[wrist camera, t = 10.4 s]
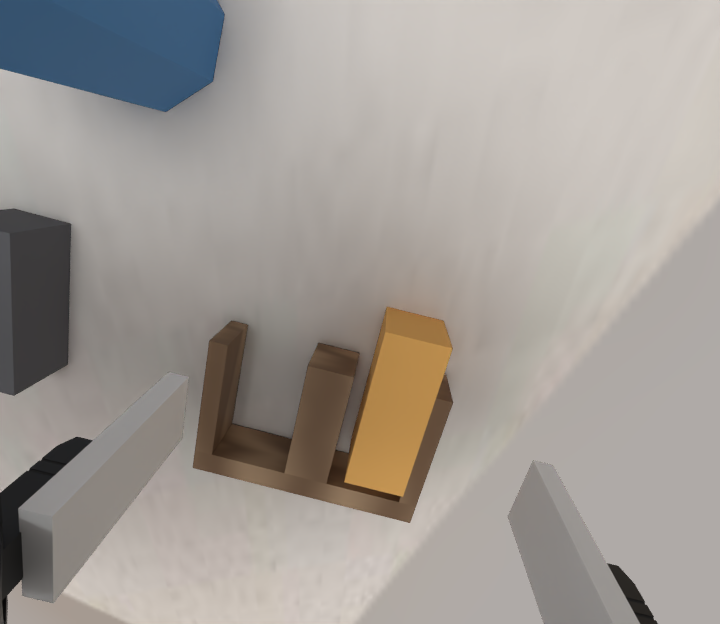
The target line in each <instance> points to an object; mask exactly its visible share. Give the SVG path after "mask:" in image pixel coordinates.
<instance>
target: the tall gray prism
mask: <svg viewBox="0 0 720 624" xmlns="http://www.w3.org/2000/svg"><path fill="white" fill-rule="evenodd" d="M70 241H71V224H70V223H66V222H62V221H58V220H55V219H51V218H47V217H43V216H40V215H36V214H32V213H28V212H25V211H21V210H17V209H7V210H0V392H2V393H6V394H9V395H13V396H15V395H16V394H18V393H20V392H21V391H23V390H25V389H26V388H28V387H30V386H32V385H33V384H35V383H37V382H38V381H40V380H42V379H44V378H45V377H47V376H49V375H50V374H52V373H54V372H55V371H57V370H59V369H61V368H62V367H64V366H66V365H67V364H68V333H69V287H70Z"/></svg>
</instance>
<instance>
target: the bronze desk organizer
mask: <svg viewBox="0 0 720 624" xmlns="http://www.w3.org/2000/svg"><path fill="white" fill-rule="evenodd" d="M247 327H248V325H247V324H243V323H239V322H235V321H231V322H230V323H229V324H227V325H226V326H225V327H224V328H223V329H222V330H221V331H220V332H219V333H217V334H216V335H215V336H214V337H213V338H212V339H211V340H210V341H209V347H208V355H207V362H206V370H205V378H204V385H203V393H202V401H201V408H200V416H199V424H198V432H197V439H196V447H195V455H194V462H193V468H196V469H200V470H204V471H208V472H212V473H216V474H219V475H223V476H227V477H231V478H235V479H239V480H243V481H247V482H251V483H255V484H259V485H263V486H267V487H271V488H275V489H278V490H282V491H286V492H290V493H294V494H298V495H302V496H306V497H310V498H314V499H318V500H322V501H326V502H330V503H334V504H337V505H341V506H345V507H349V508H353V509H357V510H361V511H365V512H369V513H373V514H377V515H381V516H385V517H389V518H393V519H396V520H400V521H404V522H408V523H410V521H411V519H412V516H413V513H414V510H415V507H416V505H417V502H418V499H419V496H420V493H421V491H422V488H423V485H424V482H425V479H426V477H427V474H428V471H429V468H430V465H431V463H432V460H433V457H434V454H435V451H436V449H437V446H438V443H439V440H440V438H441V435H442V432H443V429H444V426H445V424H446V421H447V418H448V415H449V412H450V410H451V407H452V404H453V401H452V397H451V393H450V389H449V385H448V381H447V377H446V375H444V376H443V379H442V382H441V385H440V388H439V391H438V394H437V397H436V400H435V403H434V406H433V409H432V412H431V415H430V418H429V421H428V424H427V427H426V430H425V433H424V436H423V439H422V442H421V445H420V448H419V451H418V454H417V457H416V459H415V462H414V465H413V468H412V471H411V474H410V477H409V480H408V483H407V486H406V489H405V492H404V495H403V497H402V496H397V495H393V494H389V493H385V492H381V491H377V490H373V489H369V488H365V487H361V486H357V485H353V484H349V483H345V482H344V481H345V474H346V468H347V462H348V456H349V453H345V452H341V451H337V450H335V449H336V445H337V441H338V437H339V434H340V430H341V426H342V422H343V418H344V415H345V411H346V407H347V403H348V399H349V396H350V392H351V388H352V384H353V380H354V376H355V371H356V366H357V361H358V357H359V353H357V352H353V351H349V350H345V349H341V348H337V347H333V346H329V345H325V344H321V343H318V345H317V347H316V349H315V351H314V354H313V356H312V358H311V360H310V362H309V365H308V368H307V372H306V377H305V382H304V386H303V391H302V395H301V400H300V404H299V409H298V413H297V418H296V423H295V427H294V432H293V436H292V439H290V438H286V437H282V436H278V435H274V434H270V433H266V432H262V431H258V430H254V429H250V428H246V427H242V426H239V425H235V424H232V421H233V414H234V408H235V402H236V396H237V389H238V383H239V377H240V371H241V365H242V358H243V352H244V346H245V340H246V333H247Z"/></svg>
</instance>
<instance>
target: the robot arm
mask: <svg viewBox="0 0 720 624" xmlns="http://www.w3.org/2000/svg"><path fill="white" fill-rule="evenodd" d="M188 381H189V377H188V376H184V375H180V374H176V373H171V372H168V373H167V374H166V375H165V376H164V377H163V378H161V379H160V380H159V381H158V382H157V383H156V384H155V385H154V386H153V387H152V388H150V389H149V390H148V391H147V392H146V393H145V394H144V395H143V396H142V397H140V398H139V399H138V400H137V401H136V402H135V403H134V404H133V405H132V406H131V407H129V408H128V409H127V410H126V411H125V412H124V413H123V414H122V415H121V416H120V417H118V418H117V419H116V420H115V421H114V422H113V423H112V424H111V425H110V426H109V427H107V428H106V429H105V430H104V431H103V432H102V433H101V434H100V435H99V436H98V437H96V438H95V439H94V440H88V439H84V438H80V437H75V438H73V439H71V440H69V441H67V442H64V443H62V444H60V445H58V446H56V447H55V448H54V449H53V450H52V451H50V452H49V453H48V454H47V455H45V456H44V457H43V458H42V460H41V461H38V462H37V463H36V464H35V465H33V466H32V467H31V468H30V470H29V471H26V472H25V473H24V474H22V475H21V476H20V477H19V478H18V479H16V480H15V481H14V482H13V483H12V484H10V485H9V486H8V487H7V488H6V489H4V490H3V491H2V492H1V493H0V624H7V609H8V608H7V607H8V600H7V595H8V594H9V593H10V592H11V591H12V589H13V588H14V587H15V586H16V585H17V584H18V583H19V582H20V580H21V579H22V595H23V596H25V597H29V598H34V599H37V600H42V601H46V602H50V603H54V602H55V601H56V599H57V598H58V597H59V596H60V594H61V593H62V592H63V590H64V589H65V588H66V587H67V585H68V584H69V583H70V581H71V580H72V579H73V578H74V576H75V575H76V574H77V572H78V571H79V570H80V569H81V567H82V566H83V565H84V563H85V562H86V561H87V560H88V558H89V557H90V556H91V555H92V553H93V552H94V551H95V549H96V548H97V547H98V546H99V544H100V543H101V542H102V540H103V539H104V538H105V537H106V535H107V534H108V533H109V531H110V530H111V529H112V528H113V526H114V525H115V524H116V522H117V521H118V520H119V519H120V517H121V516H122V515H123V513H124V512H125V511H126V510H127V508H128V507H129V506H130V504H131V503H132V502H133V501H134V499H135V498H136V497H137V495H138V494H139V493H140V492H141V490H142V489H143V488H144V486H145V485H146V484H147V483H148V481H149V480H150V479H151V477H152V476H153V475H154V474H155V472H156V471H157V470H158V469H159V467H160V466H161V465H162V463H163V462H164V461H165V460H166V458H167V457H168V456H169V454H170V453H171V452H172V451H173V449H174V448H175V447H176V445H177V444H178V443H179V442H180V440H181V439H182V436H183V427H184V418H185V409H186V399H187V390H188ZM508 519H509V521H510V525H511V528H512V531H513V534H514V537H515V540H516V543H517V545H518V549H519V552H520V554H521V557H522V560H523V563H524V566H525V569H526V572H527V575H528V578H529V581H530V584H531V587H532V590H533V593H534V596H535V599H536V602H537V605H538V608H539V611H540V614H541V617H542V620H543V623H544V624H657V621H655V620H654V619H653V617H654V616H653V615H652V613H651V611H650V610H649V608H648V606H647V605H645V601H644V599H643V598H642V596H641V594H640V593H639V591H638V589H637V588H636V586H635V584H634V583H633V582H632V581H631V579H630V578H629V577H628V576H627V575H626V574H625V573H624V572H623V571H622V570H621V569H620V568H619V566H616V565H612V564H608V563H606V561H605V559H604V557H603V555H602V553H601V552H600V550H599V548H598V546H597V544H596V543H595V541H594V539H593V537H592V535H591V533H590V532H589V530H588V528H587V526H586V524H585V522H584V521H583V519H582V517H581V515H580V513H579V512H578V510H577V508H576V506H575V504H574V502H573V501H572V499H571V497H570V495H569V494H568V492H567V490H566V488H565V486H564V484H563V482H562V481H561V479H560V477H559V475H558V474H557V472H556V470H555V468H554V466H553V465H551V464H546V463H542V462H538V461H534V460H533V462H532V464H531V466H530V468H529V471H528V473H527V475H526V477H525V480H524V482H523V484H522V486H521V488H520V490H519V493H518V495H517V497H516V499H515V502H514V504H513V506H512V508H511V511H510V513H509V515H508Z"/></svg>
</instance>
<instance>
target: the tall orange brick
mask: <svg viewBox="0 0 720 624" xmlns="http://www.w3.org/2000/svg"><path fill="white" fill-rule="evenodd" d="M452 349H453V348H452V345H451V342H450V339H449V336H448V333H447V330H446V327H445V324H444V321H442V320H438V319H434V318H430V317H426V316H422V315H418V314H414V313H410V312H406V311H402V310H398V309H394V308H390V307H387V308H386V312H385V316H384V319H383V323H382V327H381V330H380V334H379V338H378V342H377V345H376V349H375V353H374V356H373V360H372V364H371V368H370V371H369V375H368V379H367V382H366V386H365V390H364V394H363V397H362V401H361V405H360V408H359V412H358V416H357V420H356V423H355V427H354V431H353V434H352V438H351V444H350V450H349V456H348V462H347V468H346V474H345V481H344V482H345V483H349V484H353V485H357V486H361V487H365V488H369V489H373V490H377V491H381V492H385V493H389V494H393V495H397V496H402V497H403V495H404V492H405V489H406V486H407V483H408V480H409V477H410V474H411V471H412V468H413V465H414V462H415V459H416V457H417V454H418V451H419V448H420V445H421V442H422V439H423V436H424V433H425V430H426V427H427V424H428V421H429V418H430V415H431V412H432V409H433V406H434V403H435V400H436V397H437V394H438V391H439V388H440V385H441V382H442V379H443V376H444V373H445V370H446V367H447V364H448V361H449V358H450V355H451V352H452Z"/></svg>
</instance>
